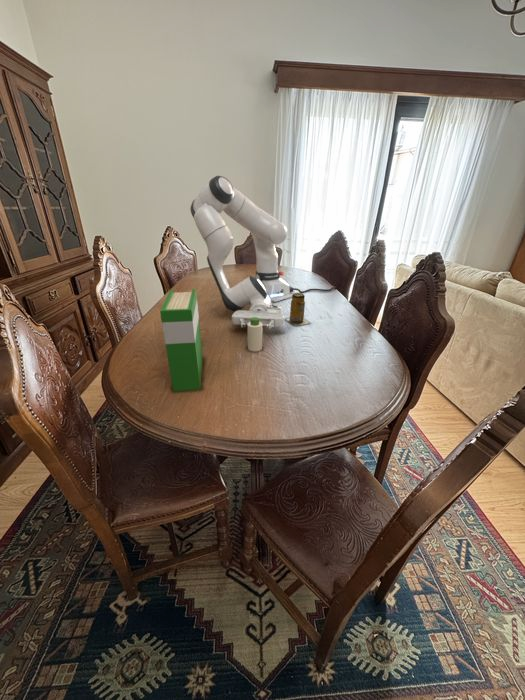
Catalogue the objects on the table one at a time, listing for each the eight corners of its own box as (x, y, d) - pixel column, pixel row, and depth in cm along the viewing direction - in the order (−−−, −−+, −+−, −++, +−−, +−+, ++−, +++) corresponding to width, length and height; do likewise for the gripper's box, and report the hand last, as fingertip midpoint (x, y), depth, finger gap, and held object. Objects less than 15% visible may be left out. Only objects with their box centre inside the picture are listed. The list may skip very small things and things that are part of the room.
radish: (257, 343, 107) (257, 314, 102) (264, 349, 103) (265, 319, 98) (245, 347, 105) (244, 317, 99) (252, 352, 101) (252, 322, 95)
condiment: (299, 317, 131) (301, 291, 126) (309, 323, 125) (312, 296, 119) (285, 319, 128) (286, 293, 123) (295, 326, 122) (297, 299, 116)
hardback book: (180, 359, 96) (170, 289, 84) (202, 358, 97) (195, 289, 85) (173, 391, 80) (160, 310, 69) (200, 389, 81) (191, 309, 70)
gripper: (234, 304, 117) (227, 317, 104) (284, 306, 115) (283, 319, 103) (234, 319, 120) (228, 332, 107) (283, 321, 118) (282, 335, 106)
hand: (255, 326), depth 105 cm, fingers open, 8 cm apart
